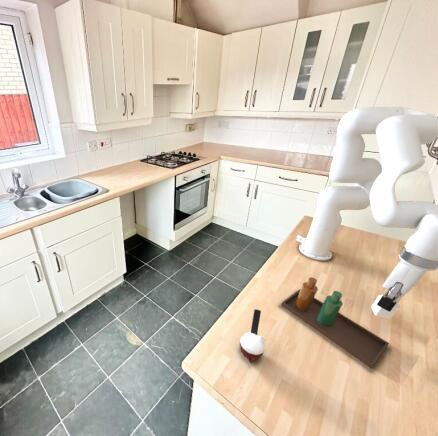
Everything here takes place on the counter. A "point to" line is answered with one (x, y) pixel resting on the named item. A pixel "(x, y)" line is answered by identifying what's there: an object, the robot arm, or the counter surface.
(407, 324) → the counter surface
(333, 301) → the green bottle
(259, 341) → the cocoa
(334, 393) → the counter surface
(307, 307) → the amber bottle
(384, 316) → the salt shaker
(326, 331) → the tray
